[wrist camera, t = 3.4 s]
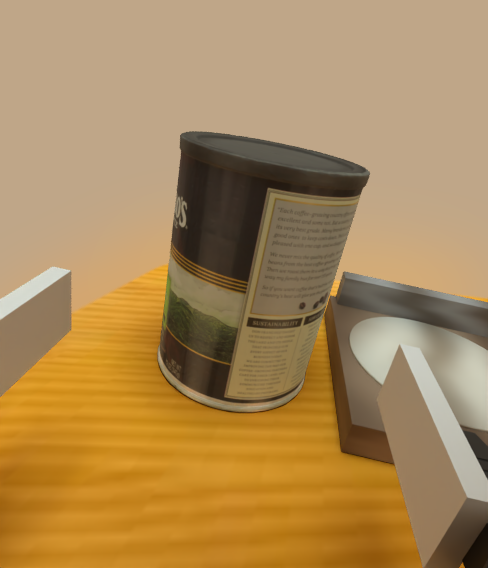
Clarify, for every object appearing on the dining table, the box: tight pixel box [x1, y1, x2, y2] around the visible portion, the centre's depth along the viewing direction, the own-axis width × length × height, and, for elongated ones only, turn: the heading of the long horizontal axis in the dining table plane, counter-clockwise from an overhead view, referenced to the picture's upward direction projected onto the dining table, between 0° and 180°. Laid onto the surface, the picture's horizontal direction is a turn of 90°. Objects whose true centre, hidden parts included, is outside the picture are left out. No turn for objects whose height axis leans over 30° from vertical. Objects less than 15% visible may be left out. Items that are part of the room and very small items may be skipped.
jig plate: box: [325, 272, 488, 464], centre depth 28 cm, size 14×16×4 cm
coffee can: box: [158, 132, 370, 412], centre depth 24 cm, size 10×10×14 cm
